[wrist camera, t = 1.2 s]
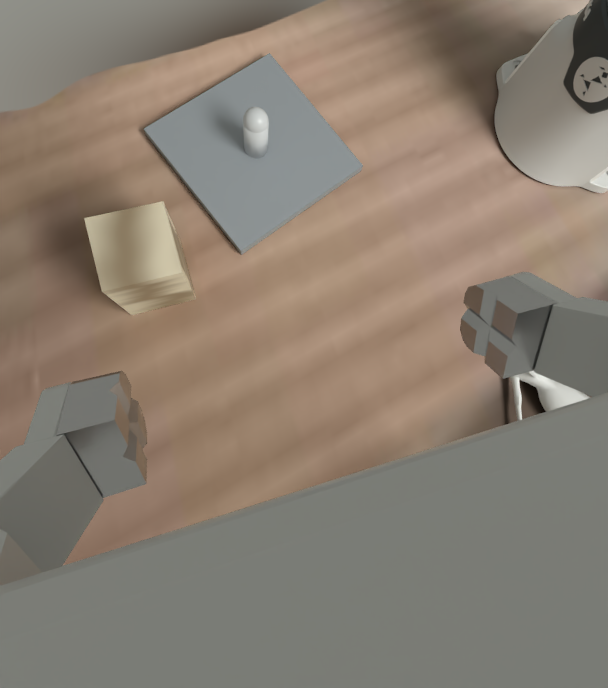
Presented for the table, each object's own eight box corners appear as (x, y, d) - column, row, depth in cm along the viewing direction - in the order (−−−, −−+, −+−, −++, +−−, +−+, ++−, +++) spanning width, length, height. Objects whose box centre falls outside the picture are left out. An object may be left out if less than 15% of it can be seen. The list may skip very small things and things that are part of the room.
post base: (269, 60, 46) (271, 7, 40) (360, 171, 45) (376, 133, 39) (146, 135, 43) (128, 89, 37) (241, 254, 42) (238, 228, 36)
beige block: (180, 240, 42) (163, 201, 34) (196, 299, 41) (182, 272, 33) (117, 255, 41) (84, 218, 33) (132, 315, 40) (102, 291, 32)
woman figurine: (618, 513, 38) (466, 375, 40) (582, 505, 42) (447, 381, 44) (684, 419, 40) (538, 292, 42) (644, 420, 45) (513, 305, 46)
